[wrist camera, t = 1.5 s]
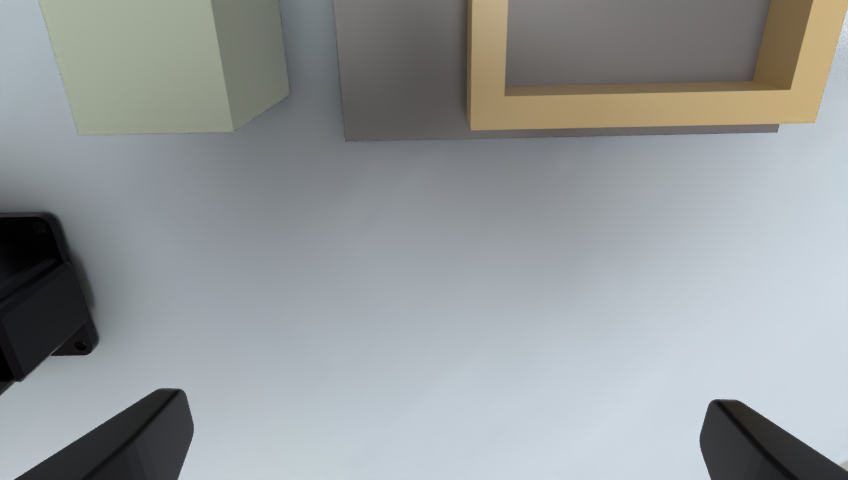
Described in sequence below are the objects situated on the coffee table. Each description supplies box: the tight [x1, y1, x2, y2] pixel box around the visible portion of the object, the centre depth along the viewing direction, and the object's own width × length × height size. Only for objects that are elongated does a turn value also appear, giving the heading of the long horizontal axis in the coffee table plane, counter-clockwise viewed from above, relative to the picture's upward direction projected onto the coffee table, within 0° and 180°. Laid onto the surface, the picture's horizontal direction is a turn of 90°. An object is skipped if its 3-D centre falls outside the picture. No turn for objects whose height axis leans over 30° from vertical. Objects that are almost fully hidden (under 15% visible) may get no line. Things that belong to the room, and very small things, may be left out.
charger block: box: [38, 0, 290, 135], centre depth 15 cm, size 4×5×6 cm
